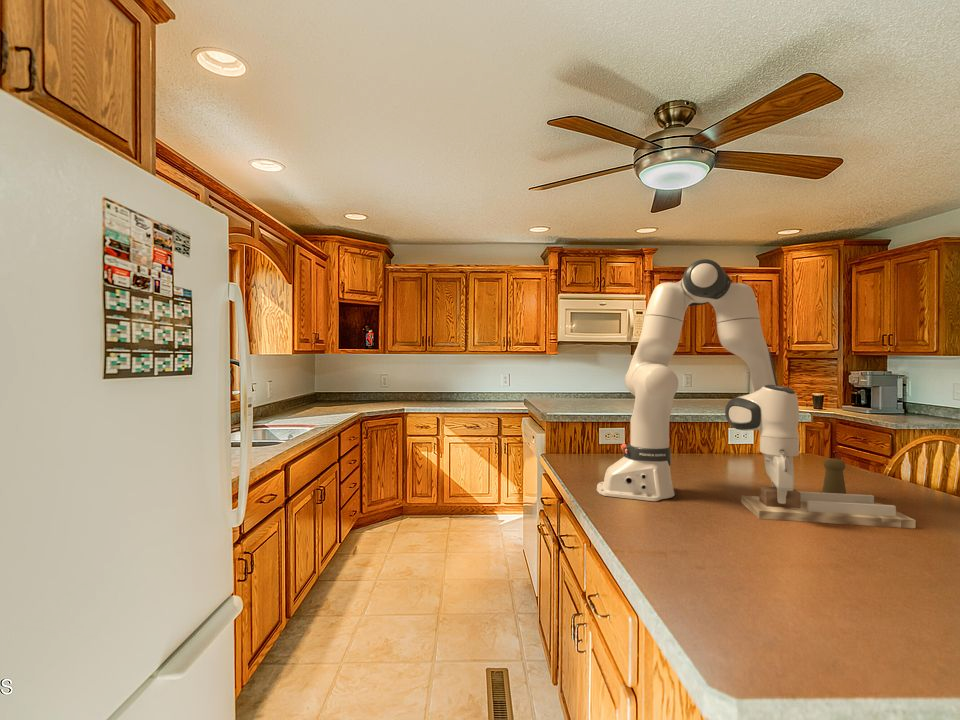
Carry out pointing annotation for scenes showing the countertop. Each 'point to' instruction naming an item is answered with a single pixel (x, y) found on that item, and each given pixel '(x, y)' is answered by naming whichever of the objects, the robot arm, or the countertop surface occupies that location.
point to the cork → (834, 476)
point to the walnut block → (770, 497)
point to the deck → (824, 515)
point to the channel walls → (845, 504)
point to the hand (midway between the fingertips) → (779, 499)
